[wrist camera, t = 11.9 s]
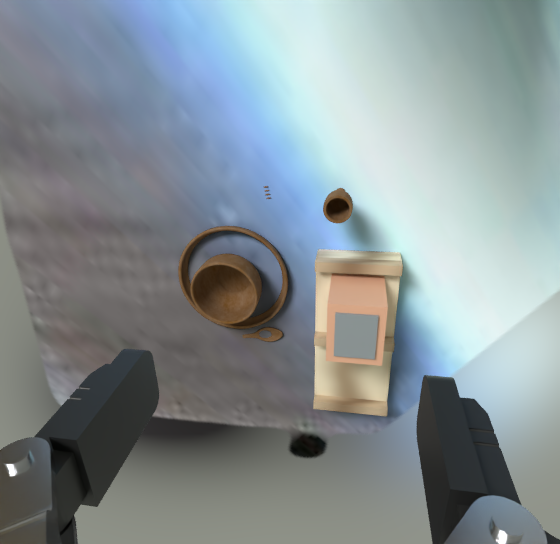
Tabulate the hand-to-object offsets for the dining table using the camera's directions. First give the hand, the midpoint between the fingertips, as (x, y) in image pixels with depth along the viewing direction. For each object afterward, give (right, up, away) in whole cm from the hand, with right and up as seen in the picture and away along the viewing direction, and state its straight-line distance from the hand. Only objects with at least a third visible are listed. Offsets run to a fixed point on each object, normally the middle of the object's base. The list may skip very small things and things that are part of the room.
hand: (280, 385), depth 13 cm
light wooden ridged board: (+8, -3, +34) cm, 35 cm away
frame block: (+8, 0, +30) cm, 31 cm away
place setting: (-1, +4, +33) cm, 33 cm away
